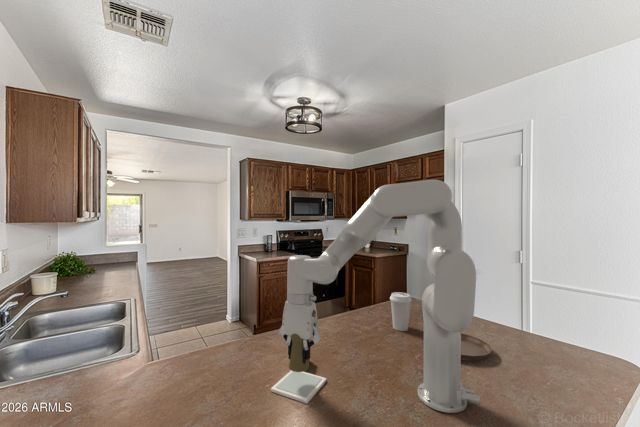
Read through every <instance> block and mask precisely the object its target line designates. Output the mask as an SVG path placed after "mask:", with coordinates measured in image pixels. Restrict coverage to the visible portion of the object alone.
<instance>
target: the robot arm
mask: <svg viewBox="0 0 640 427" xmlns="http://www.w3.org/2000/svg"><path fill="white" fill-rule="evenodd" d="M452 198H453V193H452V190H451V187H450V186H449V185H448V184H447V183H446V182H444V181H443V180H440V179H439V180H438V179H425V180H417V181H409V182H401V183H390V184H384V185H381V186H379V187H378V188H377V189H376V190H375V191H374V192H373V193H372V194H371V195H370V196H369V198H368V199H367V200H366V201H365V202H364V203H363V204H362V206H360V208H359V209H358V210H357V212H356V213H355V214H353V215H352V217H351V218H350V219H349V220H348V221H347V222H346V224H345V225H344V226H343V228H342V230H341V231H340V233H339V234H338V235H337V237H336V238H335V239H334V240H333V241H332V242H331V243H330V244H329V246H328V247H327V248H326V249H325V250H324V251H323V252H322V254H321V255H320V256H319V257H317V258H312V257H311V256H310V255H306V254H304V255H303V254H299V255H298V254H296V255H292V256H290V257H288V259H287V268H286V269H287V273H286V274H287V275H286V276H287V280H286V281H287V284H286V288H287V290H286V300H285V302H284V306H283V311H282V320H281V321H282V324H281V326H280V328H279V330H278V333H279V334H280V335H281V336H282V337H283V339H284V340H285V343H286V346H287V347H288V348H287V355H288V360H290V356H291V348H292V340H291V335H292V334H298V335H299V336H300V338H302V339H303V344H304V349H303V350H302V356H303V363H304V364H305V363H306V360H309V361H310V359H311V347H313V346H314V345H316V344H317V343H319V342H321V340H322V338H321V335H320V333H319V324H318V322H319V321H318V310H317V304H316V302H315V301H317V296H316V295H314V291H313V288H314V286H313V283H315V284H320V285H329V284H331V283H333V282H334V281H335V280H336V279H337V276H338V274H339V271H341V269H342V267H344V266H345V265H346V264H347V262H348V261H349V260H350V259H351V258H352V257H353V256H354V255H355V254H356V253H357V252H359V250H361V249H363V248H365V247H366V246H367V245H369V243H371V242H372V240H374V238H375V237H376V236H377V235H378V233H379V232H380V231H381V230H383V228H384V227H385V226H386V225H387V224H388V223H389V222H390V221H391V219H392V218H394V217H396V218H398V217H408V216H417V215H418V216H419V215H424V216H425V219H426V221H427V223H428V224H427V225H428V244H427V246H428V248H427V258H426V267H427V269H428V271H429V273H430V274H431V275H432V276H433V277H434V280H433V283H431V284H429V285H427V287H426V288H425V289H424V291H423V293H422V297H421V298H422V299H421V307H422V317H423V318H422V319H423V321H422V322H423V381H422V383H420V384H419V385H418V387H417V397H418V398H419V400H420V401H421V402H422V403H423V404H424V405H426V406H428V407H429V408H430V409H432V410H436V411H439V412H442V413H447V414H455V413H456V414H457V413H460V412H463V411H464V410H465V409H466V408H467V406H468V402H471V403H473V404H477V405H480V404H481V397H480V395H477V394H475V390H473V389H468V388H465V386H463V381H462V380H461V378H462V376H461V375H462V372H461V371H462V370H461V368H462V363H461V361H462V360H461V333H462V331H464V330H466V329H467V328H468V327H469V326H470V325H471V324H472V321H473V319H474V314H475V305H476V304H475V303H476V285H477V284H476V283H477V273H476V271H477V269H476V266H475V263H474V260H473V259H472V257H471V256H470V255H469V254H468V253H467V252H465V251H463V223H462V222H463V221H462V217H461V214H460V212H459V210H458V209H457V207H456V205H455V203H454V202H453V200H452Z"/></svg>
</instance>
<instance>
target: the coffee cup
mask: <svg viewBox="0 0 640 427" xmlns="http://www.w3.org/2000/svg"><path fill="white" fill-rule="evenodd" d="M389 300H390V305H391V307H390V308H391V317H392V318H391V319H392V329H393V330H395V331H398V330H399V331H398V332H406V331H408V330H409V322H410V311H411V304H412V297H411V294H409V293H407V292H400V291H398V292H397V291H395V292H391V295H390V297H389Z"/></svg>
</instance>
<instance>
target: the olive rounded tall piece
mask: <svg viewBox="0 0 640 427" xmlns="http://www.w3.org/2000/svg"><path fill="white" fill-rule="evenodd" d="M291 340H292V348H291V356H290V359H289V365H288V368H289V369H288V370H290V371H291V370H292V371H294V372H306V371H307V370H309V368H310V363H309V362H310V359H309V360H306V363H305V364H304V363H303V356H302V350H303V349H304V344H303V339H302V338H300V336H299V335H298V334H292V335H291Z"/></svg>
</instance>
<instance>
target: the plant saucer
mask: <svg viewBox="0 0 640 427" xmlns="http://www.w3.org/2000/svg"><path fill="white" fill-rule="evenodd" d="M491 353H492V347H491V345H490V344H488V343H487V342H486V341H485V340H483V339H481V338H478V337H475V336H473V335H469V334H466V333H463V332H461V361H468V362H473V361H474V362H475V361H476V362H477V361H480V360H483V359H485V358H486V357H487V356H489V355H490V354H491Z"/></svg>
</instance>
